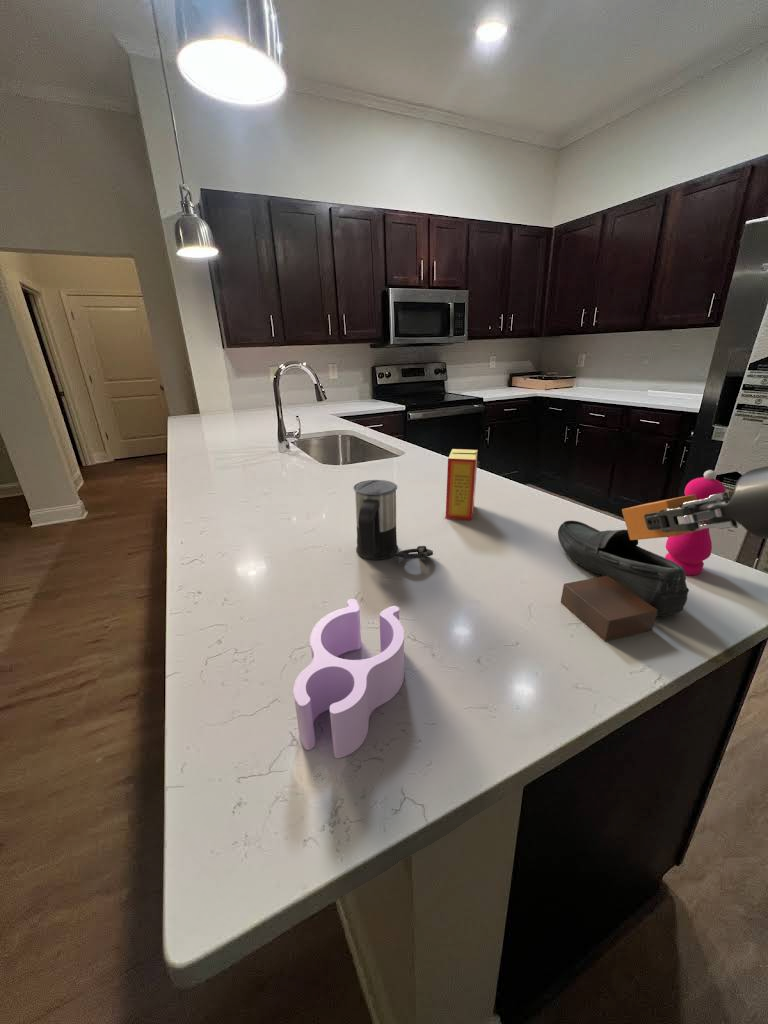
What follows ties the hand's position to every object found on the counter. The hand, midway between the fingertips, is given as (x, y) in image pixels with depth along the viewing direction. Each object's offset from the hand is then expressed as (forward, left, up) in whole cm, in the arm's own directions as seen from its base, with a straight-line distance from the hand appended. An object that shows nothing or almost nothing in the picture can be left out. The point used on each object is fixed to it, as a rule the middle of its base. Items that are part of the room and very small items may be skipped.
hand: (663, 518), depth 56 cm
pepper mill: (-15, -24, -20) cm, 35 cm away
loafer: (-1, -18, -20) cm, 27 cm away
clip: (+39, +20, -20) cm, 48 cm away
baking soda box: (+30, -43, -20) cm, 57 cm away
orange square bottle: (0, 0, 0) cm, 0 cm away
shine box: (+3, -5, -20) cm, 21 cm away
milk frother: (+42, -17, -20) cm, 50 cm away
